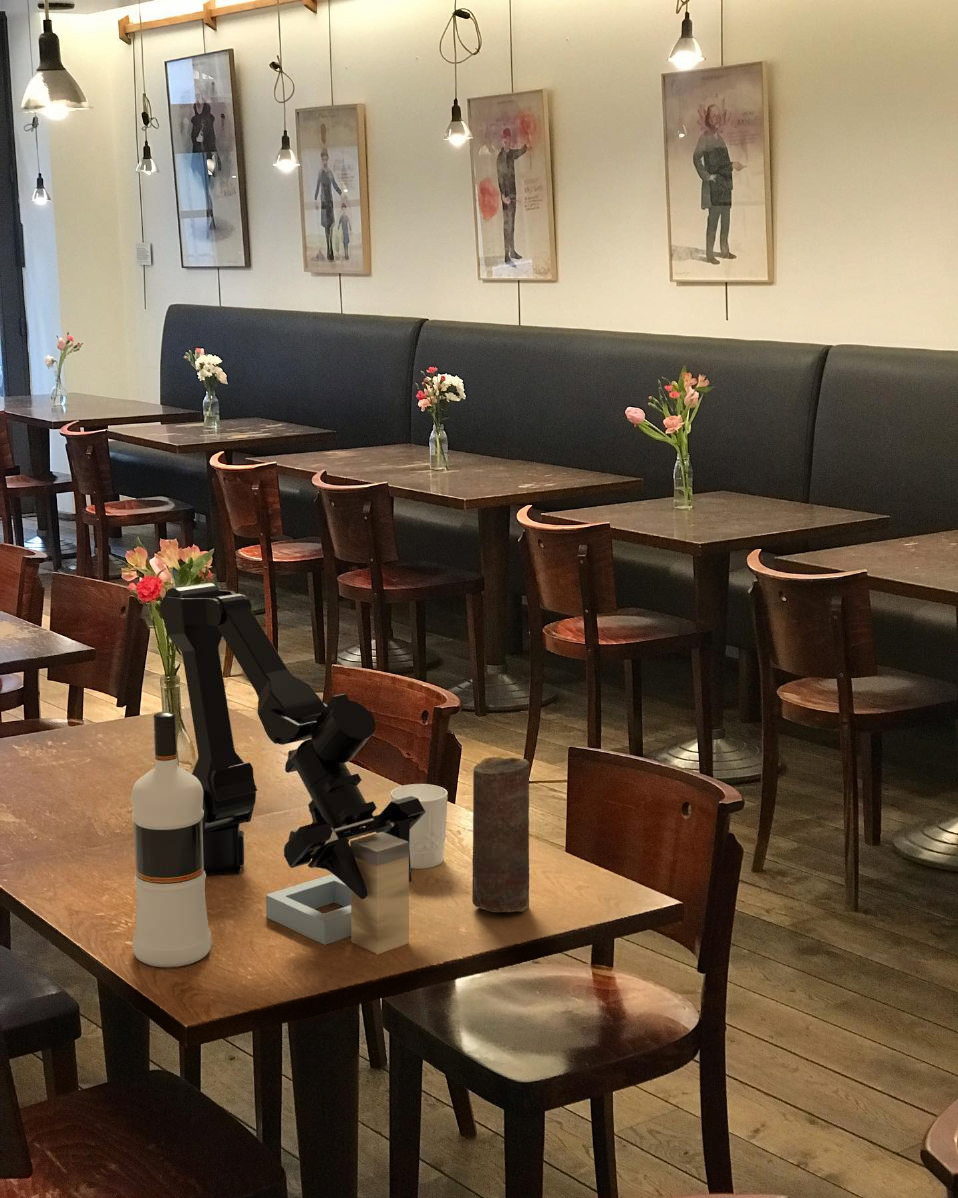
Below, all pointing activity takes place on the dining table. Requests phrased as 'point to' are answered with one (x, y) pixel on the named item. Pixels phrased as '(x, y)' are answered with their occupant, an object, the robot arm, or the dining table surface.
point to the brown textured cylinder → (501, 834)
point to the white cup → (426, 824)
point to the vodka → (169, 858)
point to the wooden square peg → (381, 893)
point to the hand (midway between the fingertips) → (387, 890)
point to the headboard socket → (299, 905)
